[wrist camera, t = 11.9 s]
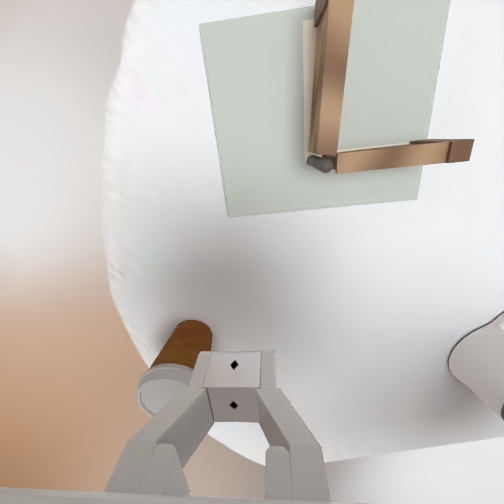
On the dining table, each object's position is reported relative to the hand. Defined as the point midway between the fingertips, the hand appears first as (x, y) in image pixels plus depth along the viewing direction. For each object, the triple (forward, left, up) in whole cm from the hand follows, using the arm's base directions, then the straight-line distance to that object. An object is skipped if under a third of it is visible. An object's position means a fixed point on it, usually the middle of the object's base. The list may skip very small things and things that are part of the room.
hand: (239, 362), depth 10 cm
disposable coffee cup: (+13, +21, -25) cm, 35 cm away
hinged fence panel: (-8, -13, -23) cm, 28 cm away
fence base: (-14, -5, -24) cm, 28 cm away
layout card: (-8, -9, -25) cm, 28 cm away
